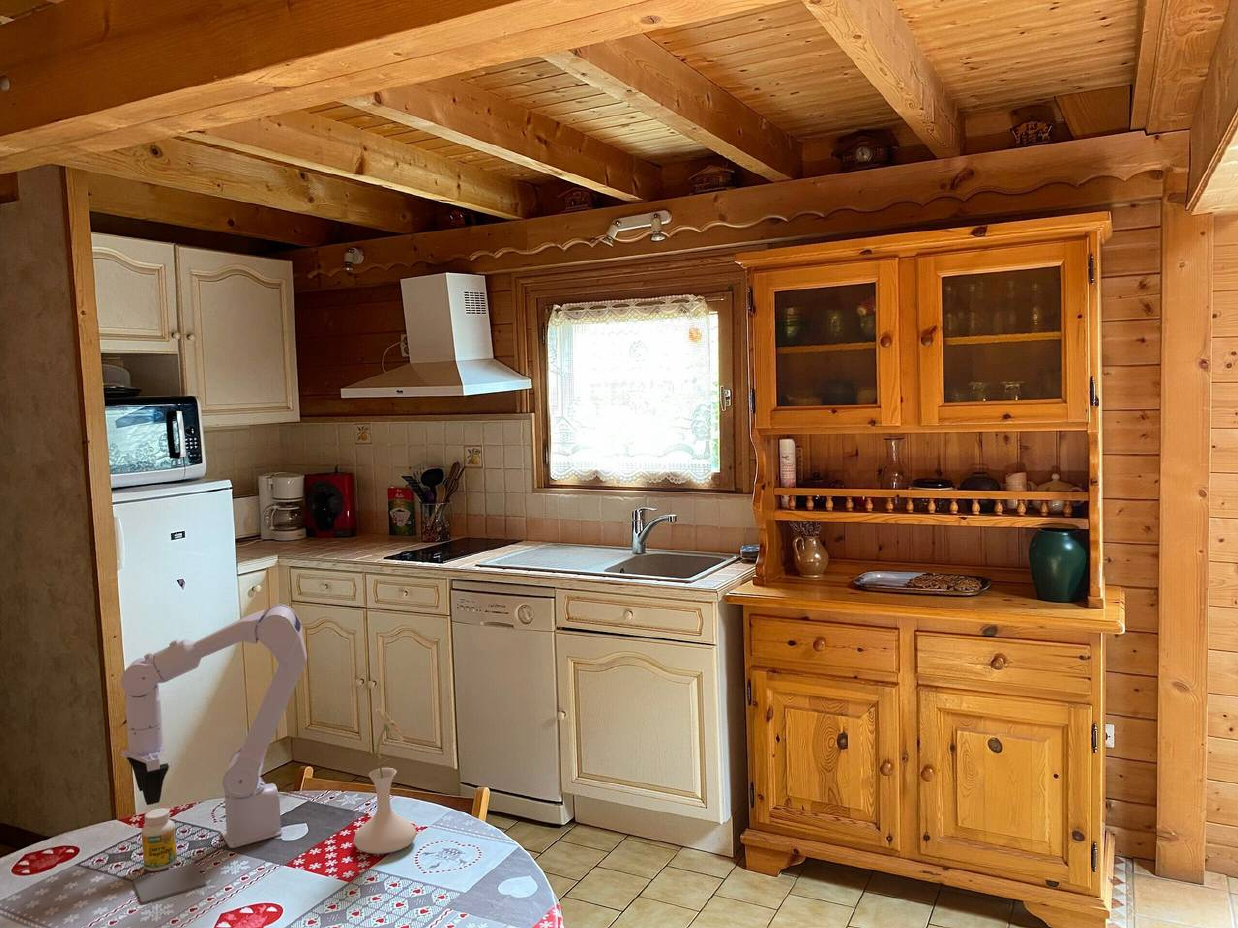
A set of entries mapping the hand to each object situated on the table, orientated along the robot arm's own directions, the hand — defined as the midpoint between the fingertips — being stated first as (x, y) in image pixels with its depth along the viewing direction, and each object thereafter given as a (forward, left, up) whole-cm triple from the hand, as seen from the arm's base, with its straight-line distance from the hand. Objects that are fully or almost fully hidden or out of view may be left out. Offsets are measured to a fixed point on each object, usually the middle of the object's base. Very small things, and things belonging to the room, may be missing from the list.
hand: (149, 796), depth 179 cm
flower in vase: (-35, +25, -10) cm, 45 cm away
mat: (0, +16, -10) cm, 19 cm away
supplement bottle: (0, +8, -10) cm, 13 cm away
